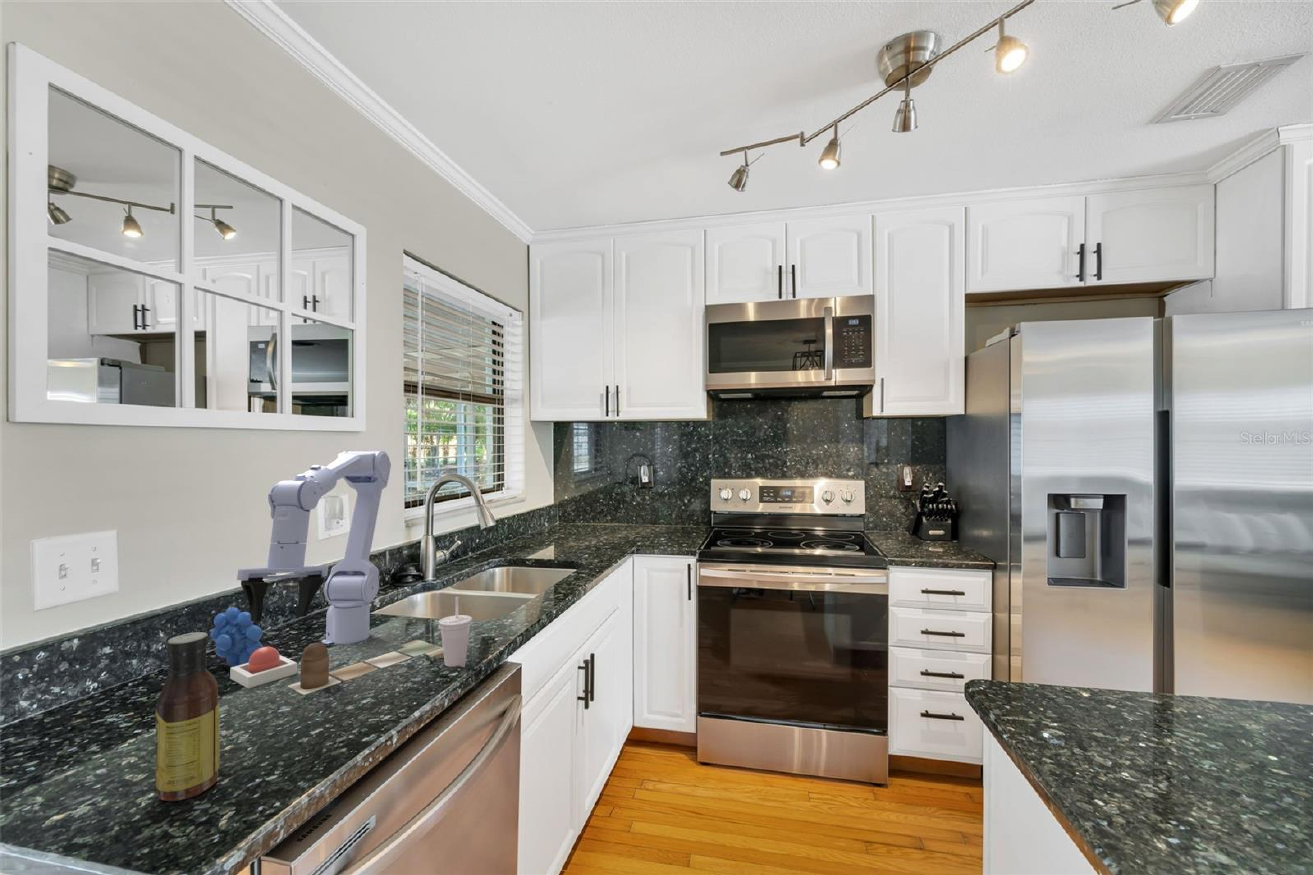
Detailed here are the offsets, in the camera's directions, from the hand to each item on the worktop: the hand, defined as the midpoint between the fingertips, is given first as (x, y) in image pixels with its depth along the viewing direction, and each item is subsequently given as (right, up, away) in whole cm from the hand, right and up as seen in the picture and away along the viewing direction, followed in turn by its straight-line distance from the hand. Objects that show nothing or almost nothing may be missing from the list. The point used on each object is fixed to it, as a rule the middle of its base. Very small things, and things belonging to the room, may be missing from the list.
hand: (279, 618), depth 101 cm
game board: (+13, -13, +8) cm, 20 cm away
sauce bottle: (+9, -12, -30) cm, 34 cm away
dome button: (-5, -11, +3) cm, 13 cm away
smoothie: (+29, -13, +9) cm, 33 cm away
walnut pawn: (+7, -12, -1) cm, 14 cm away
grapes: (-15, -13, +9) cm, 22 cm away
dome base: (-5, -13, +3) cm, 14 cm away
